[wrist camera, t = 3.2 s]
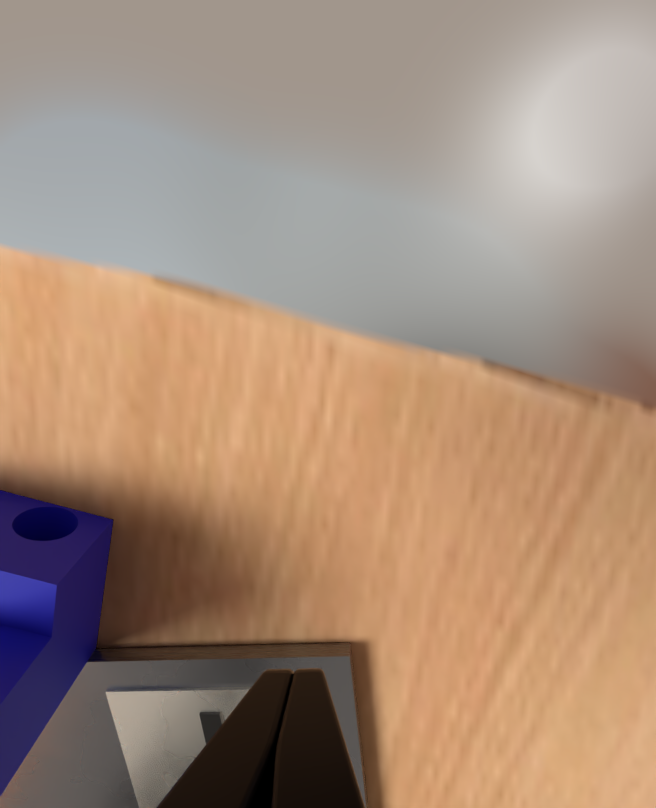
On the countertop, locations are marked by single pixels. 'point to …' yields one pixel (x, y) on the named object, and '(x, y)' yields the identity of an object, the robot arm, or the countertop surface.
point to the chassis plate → (160, 720)
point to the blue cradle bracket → (44, 613)
